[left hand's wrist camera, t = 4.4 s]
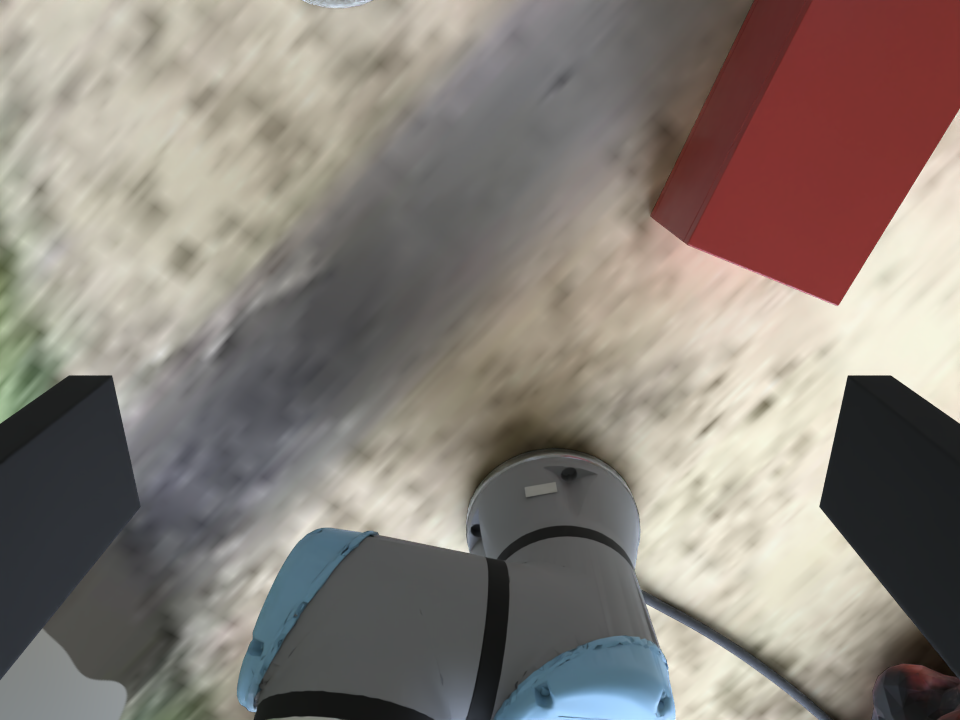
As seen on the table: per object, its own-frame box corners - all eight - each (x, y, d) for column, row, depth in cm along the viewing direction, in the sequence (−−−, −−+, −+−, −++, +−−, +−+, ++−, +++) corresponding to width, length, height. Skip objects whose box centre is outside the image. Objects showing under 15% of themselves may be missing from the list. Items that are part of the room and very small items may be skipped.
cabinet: (773, -41, 45) (849, -74, 36) (912, 26, 46) (1020, 11, 37) (649, 216, 51) (686, 244, 42) (775, 267, 53) (838, 306, 43)
